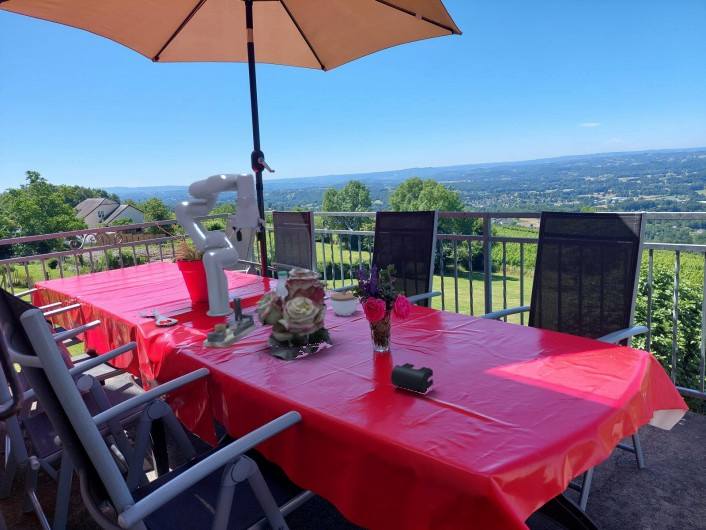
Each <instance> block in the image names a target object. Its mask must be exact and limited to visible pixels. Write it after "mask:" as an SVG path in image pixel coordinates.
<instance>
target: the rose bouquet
mask: <svg viewBox="0 0 706 530" xmlns="http://www.w3.org/2000/svg"><path fill="white" fill-rule="evenodd" d="M288 274H289V276H288V277H287V279H286V283H285V284H284V286H285V288H286V289H287V291H288V295H287V296H283V295H280V294H278V293H276V289H272V290H269V291H267V292H265V293H264V294H263V296H261V297H260V300H258V301H257V302H255V304H256V305H258V307H257V308H255V310H254V312H253V313H254V314H257V318H256V319H257V321H258V322H259V323H260V324H261V327H262V328H263V327H265V326H266V328H268V327H271V328H269V330H270V331H272V332H271V334H270V335H269V338H268V340H267V342H266V345H267V346H268V344H269V345H272V346H268V348H269V349H272V350H270V351H269V354H270V355H272V356H278V357H281V358H282V359H284V360H286V361H288V362H290V361H294V358H296V357H297V356H298V355H303V354H302V353H303V352H304V353H308V354H311V353H314V352H316V351H317V350H318V348H319V347H309V346H310V345H309V344H315V343H316V345H318V344H317V343H320V344H321V343H323V342H324V341H325V342H326V343H327V344H330V345H333V344H334V343H333V341H332V339H331V338H330V336H331V333H330V332H329V331H330V329H329V328H325V325H326V323H325V322H324V321H325V316H326V312H327V309H328V306H327V304H326V303H325V301H328V300H331V296H328V297H327V291H326V290H324V289H325V288H326V287H328V286H330V284H329V283H328V282H326V281H323V280H321V279H319V276H320V275H321V272H319V271H318V273H317V274H316V273H315V271H312V270H310V269H308V268H307V269H306V268H300V267H299V266H297V267H296V266H295V267H292V269H291V270H289V271H288ZM325 297H326V298H325ZM322 340H324V341H322ZM307 344H308V346H307V347H306V348H301V347H299V346H306V345H307ZM279 345H280V346H281V345H284V346H285V345H286V346H285V347H284V346H283V347H276V346H279ZM287 345H289V346H287ZM294 346H297V347H296V348H297V349H291V348H295V347H294ZM333 346H334V345H333ZM287 347H288V348H287ZM300 350H301V351H303V352H299V351H300ZM311 355H312V354H311ZM290 359H291V360H290ZM292 359H293V360H292Z"/></svg>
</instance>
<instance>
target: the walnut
mask: <svg viewBox="0 0 706 530" xmlns="http://www.w3.org/2000/svg"><path fill="white" fill-rule="evenodd" d="M226 324H227V323H218V324H215V325H214V329H215V330H214V331H215V332H218V333H224V337H225V338H226V337H227V335H226Z"/></svg>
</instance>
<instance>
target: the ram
mask: <svg viewBox="0 0 706 530" xmlns="http://www.w3.org/2000/svg"><path fill="white" fill-rule="evenodd" d="M232 300H233V301H232V302H233V311H234V312H233V313H234V317H233V318H231V319H229V320H228V321H227V323H228V328H229V329H231V330H238V329H239V328H241V327H242V326H244V325H246V324H247V323H249V322H250V318H242V314H243V311H242V310H243V309H242V298H241V297H234V298H232Z"/></svg>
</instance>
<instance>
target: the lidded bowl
mask: <svg viewBox="0 0 706 530" xmlns="http://www.w3.org/2000/svg"><path fill="white" fill-rule="evenodd" d="M352 293H353V291H352V292H351V291H349V292H347V291H346V290H343V291H341V292H336V293H332V294H331V295H330V297H331V298H330V305H331V308H332V310H333V311H334V313H336V314H339V315H348V314H352V313H353V314H354V313H355V312H356V310H357V308H358V304H359V303H358V299H359V298H355V297H354V296H353V294H352ZM353 314H352V315H353Z"/></svg>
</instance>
